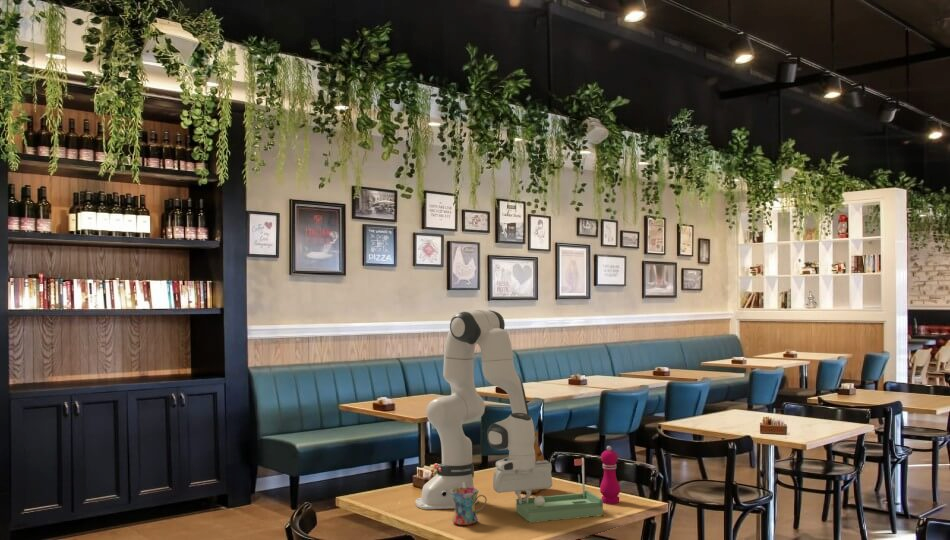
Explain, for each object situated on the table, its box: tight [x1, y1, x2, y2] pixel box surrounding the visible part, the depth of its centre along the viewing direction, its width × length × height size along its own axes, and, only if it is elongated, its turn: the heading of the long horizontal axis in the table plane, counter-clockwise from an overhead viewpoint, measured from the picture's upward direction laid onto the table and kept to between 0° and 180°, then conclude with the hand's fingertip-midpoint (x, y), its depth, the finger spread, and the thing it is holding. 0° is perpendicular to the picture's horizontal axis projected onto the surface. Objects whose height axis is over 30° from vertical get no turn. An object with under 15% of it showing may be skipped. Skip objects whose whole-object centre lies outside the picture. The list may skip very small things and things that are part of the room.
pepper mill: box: [599, 445, 621, 505], centre depth 293 cm, size 7×7×20 cm
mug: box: [450, 487, 487, 526], centre depth 269 cm, size 12×9×11 cm
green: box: [516, 457, 604, 523], centre depth 278 cm, size 26×14×17 cm, turn 105°
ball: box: [534, 495, 545, 507], centre depth 276 cm, size 4×4×4 cm
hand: (523, 503), depth 274 cm, fingers closed
